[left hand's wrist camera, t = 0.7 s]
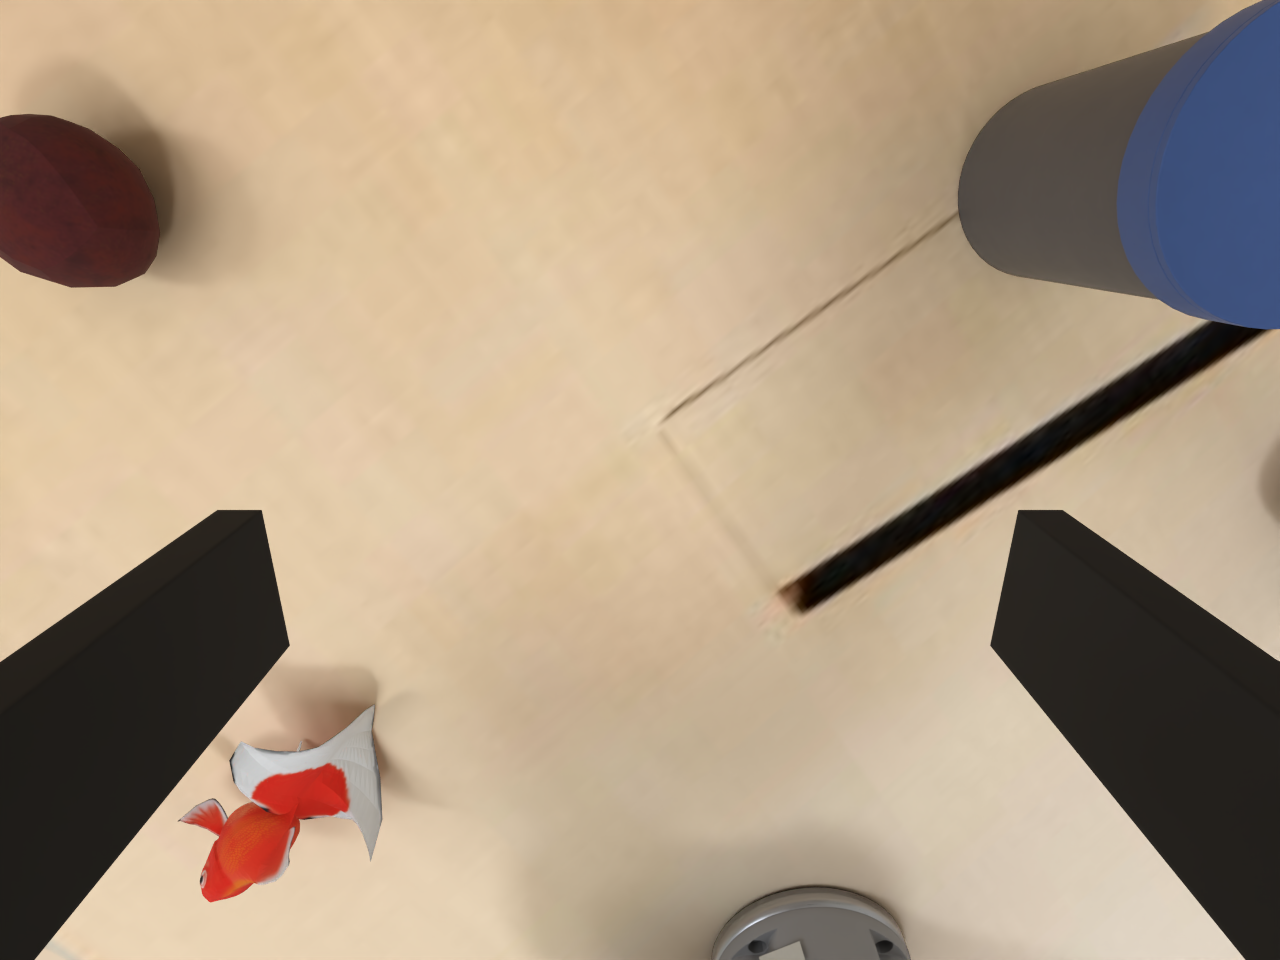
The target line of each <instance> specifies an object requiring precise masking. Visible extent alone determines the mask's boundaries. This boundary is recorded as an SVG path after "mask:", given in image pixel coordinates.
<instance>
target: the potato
mask: <svg viewBox="0 0 1280 960" xmlns="http://www.w3.org/2000/svg"><path fill="white" fill-rule="evenodd" d="M159 236H160V230H159V224H158V218H157V213H156V207H155V202H154V198H153V196H152V194H151V192H150V190H149V188H148V186H147V184H146V182H145V180H144V178H143V176H142V174H141V172H140V170H139V168H138V167H137V166H136V165H135V164H134V163H133V162H132V161H131V160H130V159H129V158H128V157H127V156H126V155H125V154H124V153H123V152H122V151H121V150H120V149H118V148H117V147H115V146H114V145H112V144H111V143H109V142H108V141H106V140H105V139H103V138H102V137H100V136H99V135H97V134H96V133H94V132H93V131H91V130H90V129H88V128H85V127H82V126H80V125H77V124H75V123H72V122H69V121H67V120H63V119H60V118H57V117H54V116H49V115H34V114H23V115H10V116H6V117H2V118H0V257H1V258H2V259H4V260H5V261H6V262H8V263H9V264H11V265H12V266H13V267H15V268H16V269H17V270H19V271H20V272H23V273H26V274H29V275H33V276H36V277H39V278H42V279H46V280H49V281H52V282H55V283H58V284H62V285H65V286H68V287H116V286H118V285H120V284H123V283H125V282H127V281H130V280H132V279H134V278H136V277H138V276H141V275H143V274H145V272H146V271H147V269H148V268H149V266H150V265H151V263H152V262H153V260H154V259H155V257H156V254H157V248H158V242H159Z"/></svg>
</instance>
